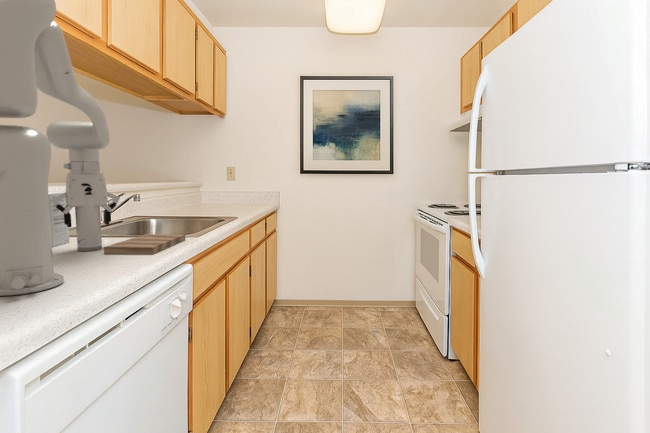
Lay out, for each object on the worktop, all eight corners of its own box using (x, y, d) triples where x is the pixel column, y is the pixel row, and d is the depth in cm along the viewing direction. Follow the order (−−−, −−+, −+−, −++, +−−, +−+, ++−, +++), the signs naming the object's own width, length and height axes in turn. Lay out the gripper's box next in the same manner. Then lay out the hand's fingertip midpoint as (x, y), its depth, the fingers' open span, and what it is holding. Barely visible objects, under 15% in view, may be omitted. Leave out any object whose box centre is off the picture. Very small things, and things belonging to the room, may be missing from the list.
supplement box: (20, 247, 115) (16, 193, 113) (39, 242, 124) (35, 191, 122) (54, 247, 116) (50, 193, 114) (70, 242, 125) (67, 191, 123)
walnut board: (153, 254, 106) (152, 247, 106) (104, 254, 106) (103, 247, 106) (185, 240, 130) (185, 234, 130) (145, 239, 130) (145, 234, 130)
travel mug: (76, 252, 108) (71, 183, 106) (79, 248, 114) (74, 183, 112) (101, 250, 111) (97, 183, 109) (102, 246, 117) (99, 183, 115)
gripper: (50, 167, 101) (54, 229, 103) (120, 168, 113) (123, 224, 115) (47, 167, 107) (51, 226, 109) (114, 168, 118) (117, 222, 120)
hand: (88, 225), depth 112 cm, fingers open, 9 cm apart
